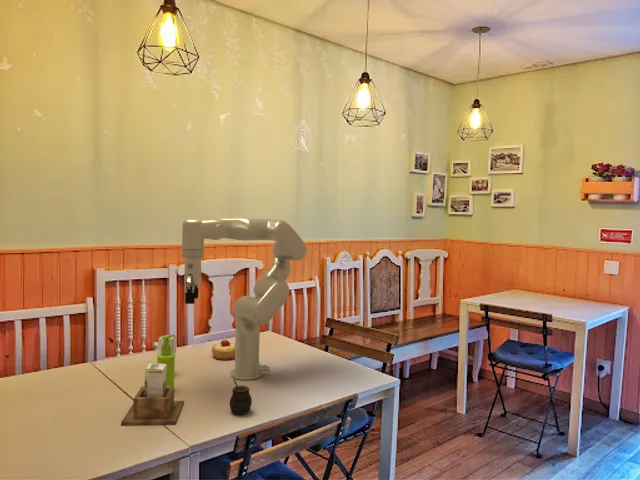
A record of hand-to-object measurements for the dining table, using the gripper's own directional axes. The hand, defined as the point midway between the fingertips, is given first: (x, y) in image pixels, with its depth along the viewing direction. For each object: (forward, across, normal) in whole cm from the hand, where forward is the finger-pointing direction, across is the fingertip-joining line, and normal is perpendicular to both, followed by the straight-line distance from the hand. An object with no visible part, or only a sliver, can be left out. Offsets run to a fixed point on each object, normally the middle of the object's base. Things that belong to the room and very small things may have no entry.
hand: (191, 300), depth 179 cm
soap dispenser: (+32, -2, +8) cm, 34 cm away
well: (+32, -22, +8) cm, 40 cm away
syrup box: (+32, -22, +8) cm, 39 cm away
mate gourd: (+32, -21, -19) cm, 43 cm away
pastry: (+33, +38, -10) cm, 51 cm away
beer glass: (+32, +14, +11) cm, 37 cm away
